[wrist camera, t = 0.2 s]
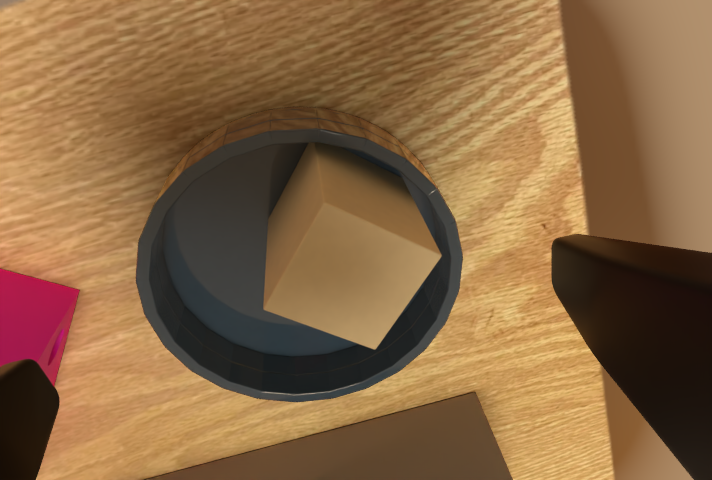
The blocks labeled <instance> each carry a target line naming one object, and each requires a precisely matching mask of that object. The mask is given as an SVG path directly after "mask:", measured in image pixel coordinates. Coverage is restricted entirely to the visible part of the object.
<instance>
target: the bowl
mask: <svg viewBox="0 0 712 480" xmlns="http://www.w3.org/2000/svg"><path fill="white" fill-rule="evenodd" d="M315 142H319V143H324V144H329V145H333V146H338V147H341V148H343V149H345V150H347V151H349V152H351V153H353V154H355V155H357V156H359V157H361V158H363V159H365V160H367V161H369V162H371V163H373V164H375V165H377V166H379V167H381V168H383V169H385V170H387V171H389V172H391V173H393V174H395V175H397V176H399V177H401V178H403V180H404V182H405V184H406V186H407V188H408V190H409V192H410V194H411V196H412V198H413V200H414V202H415V204H416V206H417V208H418V210H419V212H420V214H421V216H422V217H423V219H424V221H425V223H426V225H427V227H428V229H429V231H430V233H431V235H432V237H433V239H434V241H435V243H436V245H437V247H438V249H439V251H440V253H441V255H442V256H441V258H440V259H439V261H438V262H437V264H436V265H435V266H434V268H433V269H432V271H431V272H430V273H429V275H428V276H427V278H426V279H425V280H424V282H423V283H422V285H421V286H420V288H419V289H418V290H417V292H416V293H415V295H414V296H413V297H412V299H411V300H410V302H409V303H408V304H407V306H406V307H405V309H404V310H403V312H402V313H401V314H400V316H399V317H398V319H397V320H396V321H395V323H394V324H393V326H392V327H391V328H390V330H389V331H388V333H387V334H386V336H385V337H384V338H383V340H382V341H381V343H380V344H379V345H378V347H377V348H376V349H371V348H369V347H366V346H363V345H360V344H357V343H355V342H352V341H349V340H346V339H344V338H341V337H338V336H335V335H332V334H330V333H327V332H324V331H321V330H319V329H316V328H313V327H310V326H307V325H305V324H302V323H299V322H296V321H293V320H291V319H288V318H285V317H282V316H280V315H277V314H274V313H271V312H268V311H266V310H264V309H263V304H264V287H265V269H266V252H267V234H268V219H269V217H270V215H271V213H272V211H273V209H274V207H275V206H276V204H277V202H278V200H279V198H280V196H281V194H282V192H283V190H284V189H285V187H286V185H287V183H288V181H289V179H290V177H291V175H292V173H293V172H294V170H295V168H296V166H297V164H298V162H299V160H300V158H301V156H302V155H303V153H304V151H305V149H306V147H307V145H308V143H315ZM462 261H463V253H462V248H461V243H460V238H459V234H458V229H457V224H456V221H455V218H454V216H453V215H452V213H451V211H450V209H449V208H448V206H447V204H446V202H445V200H444V199H443V197H442V195H441V193H440V191H439V190H438V188H437V186H436V185H435V183H434V182H433V180H432V179H431V177H430V175H429V174H428V172H427V171H426V169H425V167H424V166H423V165H422V163H421V162H420V161H419V160H418V159H417V158H416V157H415V156H414V155H413V154H412V153H411V152H410V151H409V149H408V148H407V147H406V146H404V145H403V144H402V143H401V142H400V141H398V140H397V139H396V138H395V137H394V136H392V135H391V134H389V133H388V132H386V131H384V130H383V129H381V128H380V127H378V126H376V125H374V124H372V123H370V122H368V121H365V120H363V119H361V118H359V117H356V116H353V115H350V114H346V113H343V112H339V111H336V110H329V109H323V108H316V107H287V108H278V109H270V110H266V111H262V112H258V113H254V114H250V115H248V116H245V117H242V118H240V119H237V120H235V121H232V122H230V123H228V124H226V125H224V126H223V127H221V128H219V129H217V130H215V131H214V132H212V133H211V134H209V135H208V136H207V137H205V138H204V139H203V140H201V141H200V142H199V143H197V144H196V145H195V146H194V147H193V148H192V149H191V150H190V151H189V152H188V153H187V154H186V155H185V156H184V157H183V158H182V159H181V161H180V162H179V163H178V165H177V166H176V168H175V169H174V170H173V172H172V173H171V174H170V175H169V176H168V178H167V179H166V181H165V183H164V185H163V187H162V189H161V191H160V193H159V195H158V197H157V199H156V201H155V203H154V205H153V207H152V210H151V212H150V215H149V217H148V219H147V222H146V224H145V227H144V229H143V231H142V234H141V236H140V238H139V242H138V252H137V266H136V284H137V288H138V291H139V295H140V299H141V303H142V307H143V310H144V314H145V315H146V318H147V319H148V321H149V323H150V324H151V326H152V327H153V329H154V331H155V332H156V334H157V335H158V337H159V339H160V340H161V342H162V343H163V345H164V346H165V348H167V349H168V350H169V351H170V352H171V353H172V354H173V355H174V356H175V357H176V358H177V359H179V360H180V361H181V362H182V363H183V364H184V365H185V366H186V367H187V368H188V369H190V370H191V371H192V372H194V373H196V374H198V375H199V376H201V377H203V378H205V379H207V380H209V381H210V382H212V383H214V384H216V385H218V386H220V387H221V388H224V389H227V390H230V391H234V392H237V393H240V394H244V395H247V396H250V397H254V398H257V399H258V398H259V399H266V400H277V401H288V402H304V401H314V400H324V399H331V398H336V397H339V396H343V395H346V394H350V393H353V392H356V391H360V390H363V389H366V388H368V387H370V386H372V385H374V384H376V383H378V382H380V381H382V380H384V379H386V378H388V377H389V376H391V375H393V374H395V373H397V372H399V371H400V370H401V369H403V368H404V367H405V366H406V365H408V364H409V363H410V362H411V361H412V360H414V359H415V358H416V357H417V356H418V355H420V354H421V353H422V352H423V351H424V350H425V349H426V348H427V347H428V346H429V344H430V343H431V342H432V340H433V339H434V338H435V336H436V335H437V334H438V332H439V331H440V330H441V328H442V327H443V326H444V325H445V323H446V321H447V319H448V317H449V314H450V312H451V309H452V307H453V305H454V302H455V300H456V297H457V295H458V292H459V289H460V280H461V270H462Z"/></svg>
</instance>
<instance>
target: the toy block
mask: <svg viewBox="0 0 712 480" xmlns="http://www.w3.org/2000/svg"><path fill="white" fill-rule="evenodd" d="M79 291H80V290H77V289H74V288H70V287H66V286H63V285H59V284H55V283H51V282H48V281H44V280H40V279H37V278H33V277H29V276H25V275H22V274H18V273H14V272H11V271H7V270H3V269H0V367H1V366H2V365H4V364H7V363H10V362H14V361H19V360H23V359H32V360H35V361H36V362H37V363H38V364H39V365H40V367H41V368H42V370H43V371H44V373H45V374H46V376H47V377H48V379H49V380H50V381H51V383H52V384H53V386H54V385H55V381H56V377H57V373H58V370H59V366H60V362H61V358H62V354H63V351H64V347H65V343H66V339H67V336H68V332H69V328H70V324H71V321H72V317H73V313H74V309H75V306H76V302H77V298H78V294H79Z"/></svg>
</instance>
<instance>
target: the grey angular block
mask: <svg viewBox="0 0 712 480" xmlns="http://www.w3.org/2000/svg"><path fill="white" fill-rule="evenodd" d="M146 480H513V479H512V477H511V475H510V472H509V470H508V468H507V465H506V463H505V461H504V458H503V456H502V453H501V451H500V449H499V446H498V444H497V442H496V439H495V437H494V435H493V432H492V430H491V428H490V425H489V423H488V421H487V418H486V416H485V414H484V411H483V409H482V407H481V404H480V402H479V400H478V397H477V395H476V393H475V392H474V393H470V394H466V395H463V396H459V397H455V398H451V399H447V400H444V401H440V402H436V403H432V404H429V405H425V406H421V407H417V408H414V409H410V410H406V411H402V412H398V413H395V414H391V415H387V416H383V417H380V418H376V419H372V420H368V421H365V422H361V423H357V424H353V425H349V426H346V427H342V428H338V429H334V430H331V431H327V432H323V433H319V434H315V435H312V436H308V437H304V438H300V439H297V440H293V441H289V442H285V443H282V444H278V445H274V446H270V447H266V448H263V449H259V450H255V451H251V452H248V453H244V454H240V455H236V456H232V457H229V458H225V459H221V460H217V461H214V462H210V463H206V464H202V465H199V466H195V467H191V468H187V469H183V470H180V471H176V472H172V473H168V474H165V475H161V476H157V477H153V478H149V479H146Z"/></svg>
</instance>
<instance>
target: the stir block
mask: <svg viewBox="0 0 712 480" xmlns="http://www.w3.org/2000/svg"><path fill="white" fill-rule="evenodd" d="M441 256H442V255H441V253H440V251H439V249H438V247H437V245H436V243H435V241H434V239H433V237H432V235H431V233H430V231H429V229H428V227H427V225H426V223H425V221H424V219H423V217H422V216H421V214H420V212H419V210H418V208H417V206H416V204H415V202H414V200H413V198H412V196H411V194H410V192H409V190H408V188H407V186H406V184H405V182H404V180H403V178H401V177H399V176H397V175H395V174H393V173H391V172H389V171H387V170H385V169H383V168H381V167H379V166H377V165H375V164H373V163H371V162H369V161H367V160H365V159H363V158H361V157H359V156H357V155H355V154H353V153H351V152H349V151H347V150H345V149H343V148H341V147H338V146H333V145H329V144H324V143H319V142H315V143H308V145H307V147H306V149H305V151H304V153H303V155H302V156H301V158H300V160H299V162H298V164H297V166H296V168H295V170H294V172H293V173H292V175H291V177H290V179H289V181H288V183H287V185H286V187H285V189H284V190H283V192H282V194H281V196H280V198H279V200H278V202H277V204H276V206H275V207H274V209H273V211H272V213H271V215H270V217H269V219H268V234H267V252H266V269H265V287H264V304H263V309H264V310H266V311H268V312H271V313H274V314H277V315H280V316H282V317H285V318H288V319H291V320H293V321H296V322H299V323H302V324H305V325H307V326H310V327H313V328H316V329H319V330H321V331H324V332H327V333H330V334H332V335H335V336H338V337H341V338H344V339H346V340H349V341H352V342H355V343H357V344H360V345H363V346H366V347H369V348H371V349H376V348H377V347H378V345H379V344H380V343H381V341H382V340H383V338H384V337H385V336H386V334H387V333H388V331H389V330H390V328H391V327H392V326H393V324H394V323H395V321H396V320H397V319H398V317H399V316H400V314H401V313H402V312H403V310H404V309H405V307H406V306H407V304H408V303H409V302H410V300H411V299H412V297H413V296H414V295H415V293H416V292H417V290H418V289H419V288H420V286H421V285H422V283H423V282H424V280H425V279H426V278H427V276H428V275H429V273H430V272H431V271H432V269H433V268H434V266H435V265H436V264H437V262H438V261H439V259H440V258H441Z"/></svg>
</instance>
